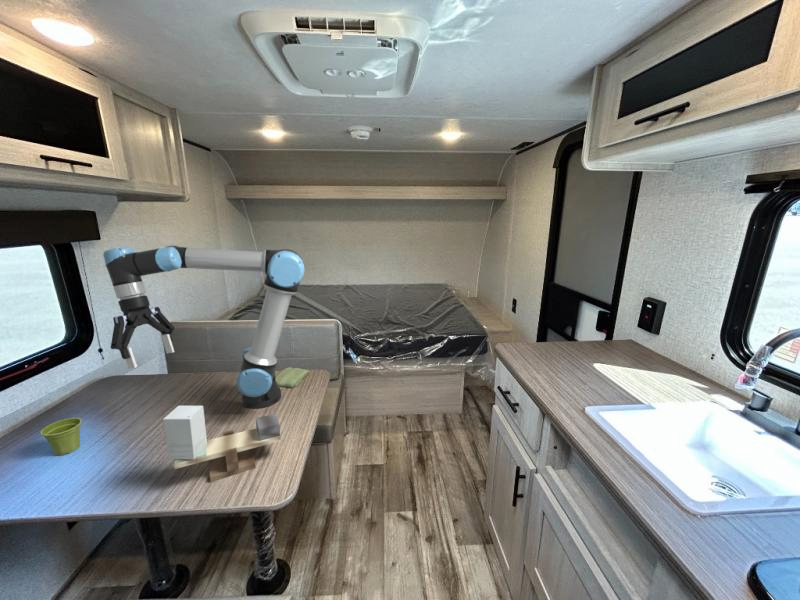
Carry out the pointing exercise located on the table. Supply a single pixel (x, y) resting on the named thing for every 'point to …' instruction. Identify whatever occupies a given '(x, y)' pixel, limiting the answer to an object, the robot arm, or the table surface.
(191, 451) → the supplement box
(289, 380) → the washcloth
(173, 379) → the table surface
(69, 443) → the plant pot
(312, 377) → the table surface
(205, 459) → the seesaw beam
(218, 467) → the fulcrum stand
